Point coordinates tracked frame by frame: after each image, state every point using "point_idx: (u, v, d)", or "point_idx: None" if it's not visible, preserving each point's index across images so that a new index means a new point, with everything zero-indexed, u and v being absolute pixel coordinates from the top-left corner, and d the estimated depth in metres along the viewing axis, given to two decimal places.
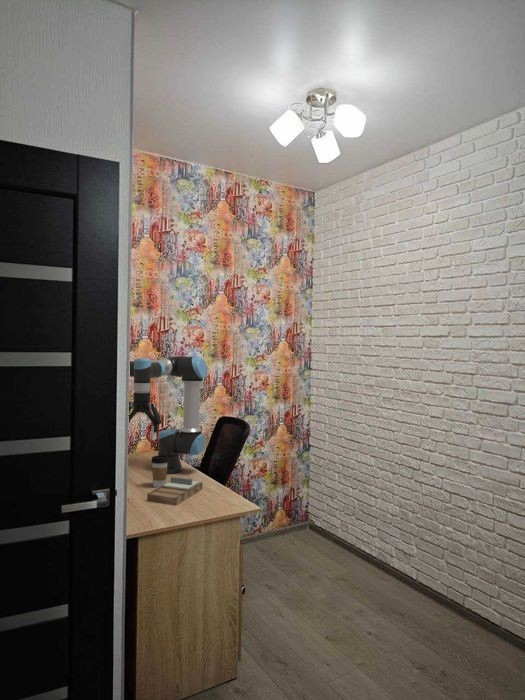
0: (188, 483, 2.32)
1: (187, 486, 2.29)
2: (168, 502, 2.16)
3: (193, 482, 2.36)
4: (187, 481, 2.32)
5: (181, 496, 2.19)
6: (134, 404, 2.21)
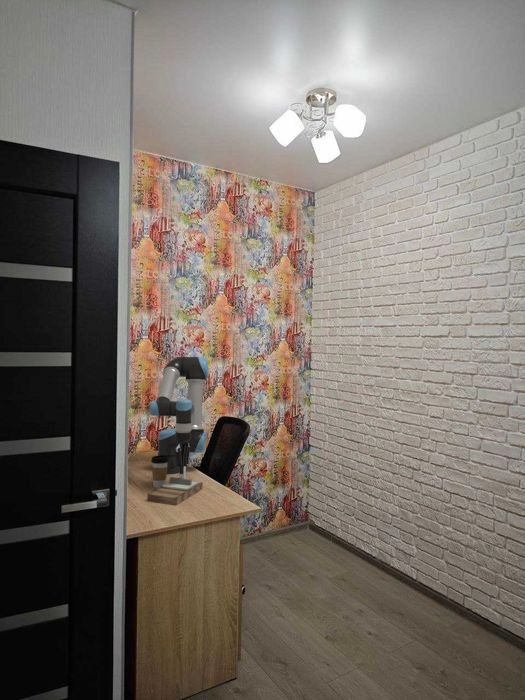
0: (187, 483, 2.31)
1: (186, 486, 2.28)
2: (168, 502, 2.16)
3: (192, 482, 2.35)
4: (186, 481, 2.31)
5: (181, 496, 2.19)
6: None
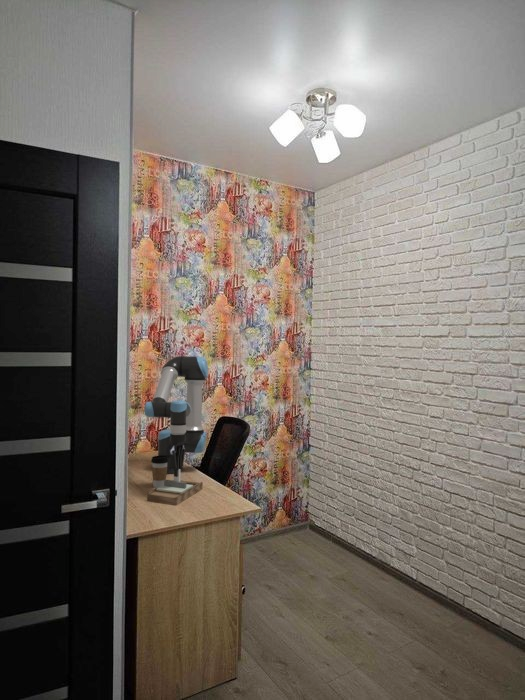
0: (182, 486, 2.26)
1: (181, 490, 2.23)
2: (168, 502, 2.16)
3: (187, 485, 2.30)
4: (181, 484, 2.26)
5: (181, 496, 2.19)
6: None
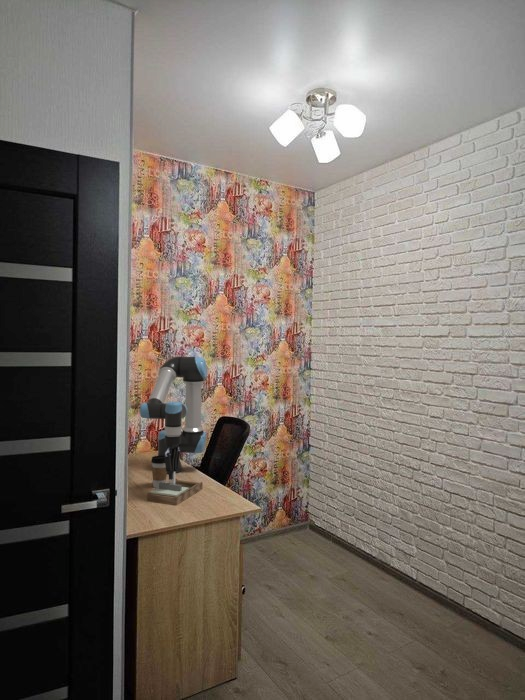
0: (177, 489, 2.22)
1: (176, 492, 2.19)
2: (168, 502, 2.16)
3: (182, 488, 2.26)
4: (176, 487, 2.22)
5: (181, 496, 2.19)
6: None
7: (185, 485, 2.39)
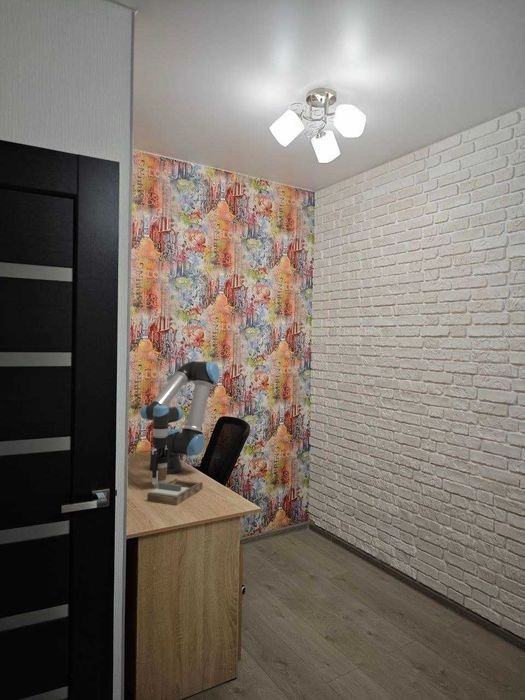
0: (177, 489, 2.21)
1: (176, 493, 2.19)
2: (168, 502, 2.16)
3: (182, 488, 2.26)
4: (176, 487, 2.21)
5: (181, 496, 2.19)
6: None
7: (185, 485, 2.39)
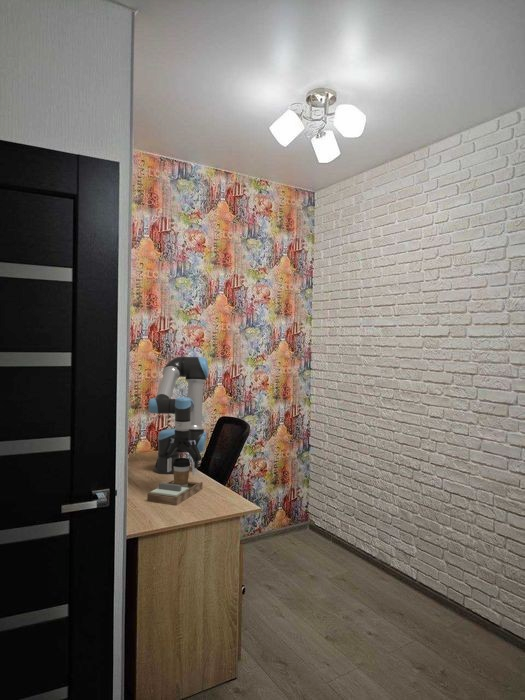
0: (177, 489, 2.21)
1: (176, 493, 2.19)
2: (168, 502, 2.16)
3: (182, 488, 2.26)
4: (176, 487, 2.21)
5: (181, 496, 2.19)
6: (175, 441, 2.34)
7: None
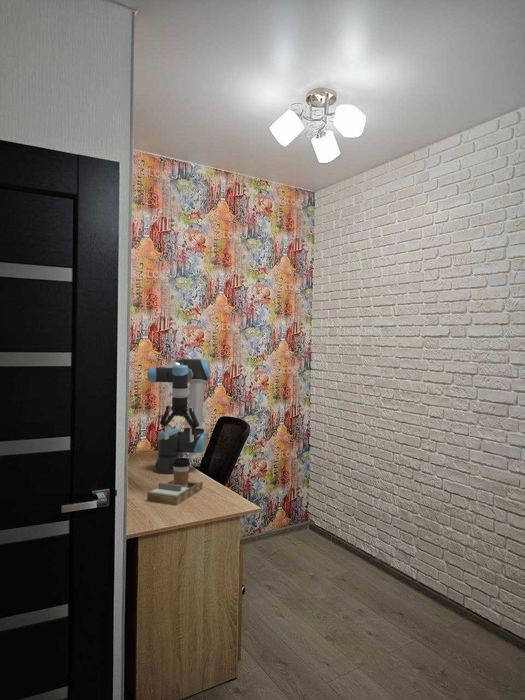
0: (177, 489, 2.21)
1: (176, 493, 2.19)
2: (168, 502, 2.16)
3: (182, 488, 2.26)
4: (176, 487, 2.21)
5: (181, 496, 2.19)
6: (172, 408, 2.35)
7: None
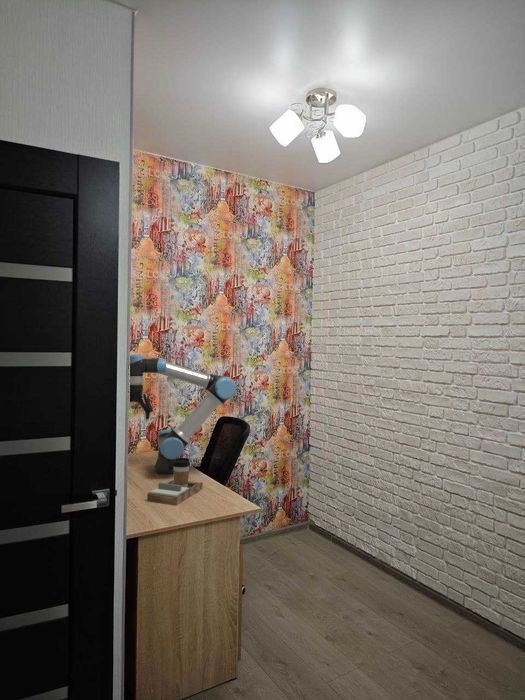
0: (177, 489, 2.21)
1: (176, 493, 2.19)
2: (168, 502, 2.16)
3: (182, 488, 2.26)
4: (176, 487, 2.21)
5: (181, 496, 2.19)
6: None
7: None
